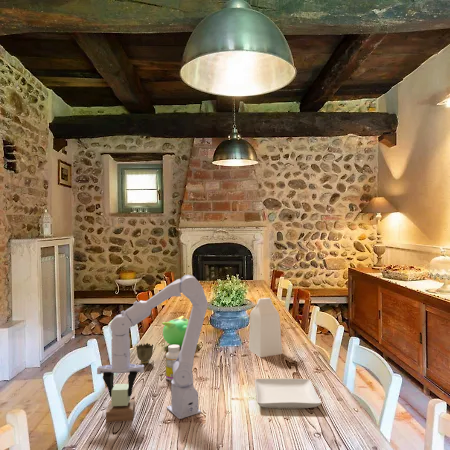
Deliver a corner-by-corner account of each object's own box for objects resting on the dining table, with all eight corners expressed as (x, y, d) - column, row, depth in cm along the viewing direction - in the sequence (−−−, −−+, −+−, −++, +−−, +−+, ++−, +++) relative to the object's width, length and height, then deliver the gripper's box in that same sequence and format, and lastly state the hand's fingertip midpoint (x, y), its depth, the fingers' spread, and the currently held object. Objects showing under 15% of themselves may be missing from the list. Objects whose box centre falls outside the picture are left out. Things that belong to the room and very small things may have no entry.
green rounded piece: (200, 341, 204) (200, 313, 204) (194, 351, 187) (194, 321, 187) (167, 340, 206) (167, 313, 206) (158, 350, 189) (158, 320, 189)
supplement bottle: (174, 373, 158) (174, 342, 158) (185, 377, 154) (185, 345, 154) (162, 378, 153) (162, 346, 153) (173, 382, 149) (173, 349, 149)
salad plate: (254, 386, 146) (254, 377, 146) (310, 386, 145) (310, 377, 145) (256, 413, 124) (256, 402, 124) (322, 413, 124) (322, 403, 124)
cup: (156, 363, 171) (156, 345, 171) (142, 367, 165) (142, 349, 166) (146, 359, 176) (146, 342, 176) (133, 363, 171) (133, 345, 171)
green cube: (127, 405, 121) (127, 389, 121) (111, 406, 120) (111, 390, 120) (130, 398, 126) (130, 383, 126) (115, 399, 125) (115, 384, 125)
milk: (260, 357, 178) (259, 301, 178) (248, 350, 188) (248, 297, 189) (282, 353, 183) (281, 299, 183) (269, 347, 193) (269, 295, 193)
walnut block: (132, 421, 119) (132, 410, 119) (106, 423, 118) (105, 412, 118) (134, 409, 127) (134, 399, 127) (110, 411, 126) (110, 400, 126)
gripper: (145, 348, 127) (145, 389, 127) (101, 349, 127) (101, 390, 126) (142, 355, 120) (142, 398, 120) (95, 356, 120) (95, 400, 119)
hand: (120, 395), depth 123 cm, fingers open, 5 cm apart
